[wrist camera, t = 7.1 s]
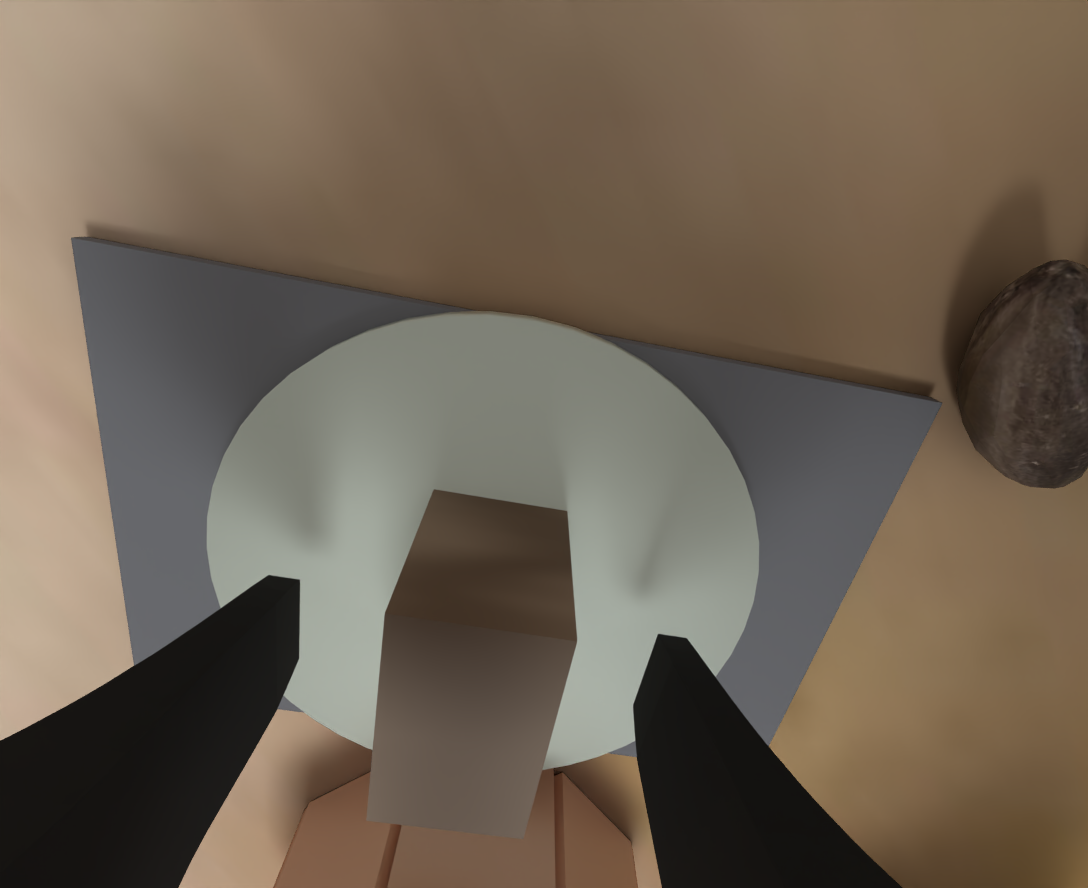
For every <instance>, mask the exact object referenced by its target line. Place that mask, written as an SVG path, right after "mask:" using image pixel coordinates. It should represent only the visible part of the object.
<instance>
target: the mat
mask: <svg viewBox="0 0 1088 888" xmlns="http://www.w3.org/2000/svg"><path fill="white" fill-rule="evenodd" d="M71 240H72V247H73V254H74V261H75V267H76V274H77V281H78V288H79V295H80V301H81V308H82V315H83V322H84V329H85V335H86V342H87V349H88V356H89V362H90V369H91V376H92V383H93V390H94V396H95V403H96V410H97V417H98V424H99V430H100V437H101V444H102V451H103V458H104V464H105V471H106V478H107V485H108V492H109V498H110V505H111V512H112V519H113V526H114V532H115V539H116V546H117V553H118V559H119V566H120V573H121V580H122V587H123V593H124V600H125V607H126V614H127V621H128V627H129V634H130V641H131V648H132V655H133V661H134V666H135V665H136V664H138V663H139V662H141V661H143V660H144V659H146V658H147V657H149V656H151V655H152V654H154V653H155V652H157V651H158V650H160V649H162V648H163V647H165V646H166V645H168V644H169V643H170V642H172V641H173V640H175V639H176V638H178V637H179V636H181V635H182V634H184V633H185V632H187V631H188V630H190V629H191V628H193V627H194V626H196V625H197V624H199V623H200V622H202V621H203V620H204V619H206V618H207V617H209V616H210V615H212V614H213V613H214V612H216V611H217V610H219V609H220V605H219V602H218V598H217V595H216V592H215V589H214V585H213V582H212V579H211V573H210V567H209V560H208V553H207V515H208V509H209V503H210V498H211V492H212V487H213V484H214V481H215V478H216V475H217V472H218V470H219V467H220V464H221V461H222V459H223V456H224V454H225V452H226V450H227V449H228V447H229V445H230V443H231V442H232V440H233V438H234V436H235V435H236V433H237V431H238V429H239V427H240V426H241V424H242V423H243V422H244V421H245V420H246V418H247V417H248V416H249V415H250V413H251V412H252V411H253V410H254V408H255V407H256V406H257V405H258V404H259V402H260V401H261V400H262V399H263V398H264V397H265V396H266V395H267V394H268V393H269V392H270V391H271V390H273V389H274V388H275V387H276V386H277V385H278V384H279V383H280V382H282V381H283V380H284V379H285V378H286V377H287V376H288V375H289V374H291V373H292V372H293V371H295V370H297V369H298V368H300V367H301V366H303V365H304V364H306V363H307V362H309V361H311V360H312V359H314V358H315V357H317V356H318V355H320V354H321V353H323V352H324V351H326V350H328V349H329V348H331V347H332V346H334V345H336V344H338V343H340V342H342V341H345V340H347V339H349V338H351V337H354V336H356V335H358V334H360V333H362V332H365V331H367V330H369V329H372V328H375V327H379V326H382V325H386V324H389V323H393V322H396V321H400V320H403V319H406V318H411V317H418V316H425V315H432V314H438V313H445V312H461V311H475V310H470V309H464V308H459V307H454V306H449V305H443V304H438V303H433V302H428V301H422V300H417V299H412V298H407V297H401V296H396V295H391V294H385V293H380V292H375V291H370V290H364V289H359V288H354V287H349V286H343V285H338V284H333V283H328V282H322V281H317V280H312V279H307V278H301V277H296V276H291V275H286V274H280V273H275V272H270V271H265V270H259V269H254V268H249V267H244V266H238V265H233V264H228V263H223V262H217V261H212V260H207V259H201V258H196V257H191V256H186V255H180V254H175V253H170V252H165V251H159V250H154V249H149V248H144V247H138V246H133V245H128V244H123V243H117V242H112V241H107V240H102V239H96V238H91V237H75V238H71ZM588 333H591V332H588ZM591 334H593V335H596V336H598V337H601V338H602V339H605V340H607V341H610V342H612V343H614V344H615V345H617V346H619V347H621V348H622V349H624V350H626V351H628V352H629V353H631V354H633V355H635V356H636V357H638V358H640V359H642V360H643V361H645V362H647V363H648V364H649V365H651V366H652V367H653V368H654V369H656V370H657V371H658V372H660V373H661V374H662V375H663V376H665V377H666V378H667V379H669V380H670V381H671V382H672V383H674V384H675V385H676V386H677V387H678V388H679V389H680V390H681V391H682V392H683V393H684V394H685V395H686V396H687V397H688V398H689V399H690V400H691V401H692V402H693V403H694V404H695V405H696V406H697V408H698V409H699V410H700V411H701V412H702V413H703V414H704V416H705V417H706V418H707V419H708V421H709V422H710V423H711V425H712V426H713V428H714V429H715V430H716V432H717V433H718V435H719V436H720V437H721V439H722V440H723V442H724V443H725V445H726V446H727V447H728V449H729V450H730V452H731V454H732V456H733V458H734V460H735V462H736V464H737V466H738V468H739V470H740V472H741V474H742V476H743V478H744V480H745V483H746V486H747V489H748V492H749V495H750V499H751V502H752V505H753V508H754V511H755V517H756V524H757V531H758V538H759V574H758V580H757V585H756V591H755V597H754V602H753V605H752V608H751V611H750V614H749V617H748V620H747V623H746V626H745V629H744V631H743V633H742V635H741V637H740V639H739V640H738V642H737V644H736V646H735V648H734V650H733V652H732V654H731V656H730V657H729V658H728V660H727V661H726V663H725V664H724V666H723V667H722V668H721V670H720V671H719V673H718V674H717V676H716V678H717V680H718V681H719V683H720V684H721V685H722V687H723V688H724V689H725V691H726V692H727V693H728V695H729V696H730V697H731V699H732V700H733V701H734V703H735V704H736V705H737V707H738V708H739V709H740V711H741V712H742V713H743V715H744V716H745V717H746V719H747V720H748V721H749V722H750V724H751V725H752V726H753V728H754V729H755V730H756V731H757V733H758V734H759V735H760V736H761V738H762V739H763V740H764V741H765V743H766V744H767V745H768V746H769V744H770V742H771V740H772V738H773V736H774V734H775V732H776V730H777V729H778V727H779V725H780V723H781V721H782V719H783V717H784V715H785V713H786V711H787V709H788V707H789V705H790V703H791V701H792V699H793V697H794V695H795V693H796V691H797V689H798V687H799V685H800V683H801V681H802V679H803V677H804V675H805V673H806V671H807V669H808V667H809V665H810V663H811V661H812V659H813V657H814V656H815V654H816V652H817V650H818V648H819V646H820V644H821V642H822V640H823V638H824V636H825V634H826V632H827V630H828V628H829V626H830V624H831V622H832V620H833V618H834V616H835V614H836V612H837V610H838V608H839V606H840V604H841V602H842V600H843V598H844V596H845V594H846V592H847V590H848V588H849V586H850V584H851V583H852V581H853V579H854V577H855V575H856V573H857V571H858V569H859V567H860V565H861V563H862V561H863V559H864V557H865V555H866V553H867V551H868V549H869V547H870V545H871V543H872V541H873V539H874V537H875V535H876V533H877V531H878V529H879V527H880V525H881V523H882V521H883V519H884V517H885V515H886V513H887V511H888V509H889V508H890V506H891V504H892V502H893V500H894V498H895V496H896V494H897V492H898V490H899V488H900V486H901V484H902V482H903V480H904V478H905V476H906V474H907V472H908V470H909V468H910V466H911V464H912V462H913V460H914V458H915V456H916V454H917V452H918V450H919V448H920V446H921V444H922V442H923V440H924V438H925V436H926V435H927V433H928V431H929V429H930V427H931V425H932V423H933V421H934V419H935V417H936V415H937V413H938V411H939V409H940V407H941V405H942V403H941V402H939V401H937V400H935V399H933V398H931V397H927V396H922V395H916V394H911V393H906V392H901V391H895V390H890V389H885V388H880V387H874V386H869V385H864V384H859V383H853V382H848V381H843V380H838V379H832V378H827V377H822V376H817V375H811V374H806V373H801V372H796V371H790V370H785V369H780V368H775V367H769V366H764V365H759V364H753V363H748V362H743V361H738V360H732V359H727V358H722V357H717V356H711V355H706V354H701V353H696V352H690V351H685V350H680V349H675V348H669V347H664V346H659V345H654V344H648V343H643V342H638V341H633V340H627V339H622V338H617V337H612V336H606V335H601V334H596V333H591ZM278 709H282V710H289V711H297V712H303V711H302V710H300V709H299V708H298V707H297V706H295V705H294V704H293V703H291V702H290V701H289V700H288V699H287V698H286V697H285V696H284V695H283V697H282V700H281V702H280V704H279V706H278ZM609 753H610V754H618V755H625V756H633V757H637V753H636V742H635V741H634V742H632V743H630V744H628V745H626V746H624V747H621V748H619V749H616V750H614V751H611V752H609Z"/></svg>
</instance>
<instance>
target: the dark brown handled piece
mask: <svg viewBox="0 0 1088 888" xmlns="http://www.w3.org/2000/svg"><path fill="white" fill-rule="evenodd" d="M956 391H957V396H958V401H959V406H960V412H961V417H962V422H963V424H964V426H965V428H966V431H967V433H968V435H969V437H970V439H971V441H972V443H973V445H974V447H975V449H976V450H977V451H978V452H979V453H980V454H981V455H982V456H983V457H984V458H985V459H986V460H987V461H989V462H990V463H991V464H992V465H993V466H994V467H995V468H996V469H997V470H998V471H1000V472H1001V473H1002V474H1003V475H1004V476H1006V477H1008V478H1010V479H1012V480H1014V481H1016V482H1018V483H1020V484H1023V485H1026V486H1029V487H1041V488H1059V487H1064V486H1066V485H1068V484H1069V483H1071V482H1073V481H1075V480H1077V479H1078V478H1080V477H1081V476H1082V475H1083V473H1084V472H1085V470H1086V469H1087V468H1088V269H1087V268H1086V267H1085V266H1084V265H1081V264H1078V263H1075V262H1072V261H1069V260H1058V261H1050V262H1047V263H1045V264H1043V265H1041V266H1039V267H1037V268H1034V269H1033V270H1031V271H1029V272H1028V273H1026V274H1025V275H1023V276H1022V277H1020V278H1019V279H1017V280H1016V281H1014V282H1013V283H1011V284H1010V285H1008V286H1007V287H1006V288H1005V289H1004V290H1003V291H1002V292H1001V293H1000V294H999V295H998V296H997V297H996V298H995V299H994V300H993V301H992V302H991V303H990V305H989V306H988V307H987V308H986V309H985V310H984V311H983V312H982V313H981V314H980V317H979V320H978V322H977V325H976V327H975V330H974V333H973V335H972V338H971V340H970V343H969V345H968V348H967V351H966V353H965V356H964V358H963V361H962V364H961V366H960V369H959V373H958V381H957V389H956Z"/></svg>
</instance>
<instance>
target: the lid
mask: <svg viewBox="0 0 1088 888" xmlns="http://www.w3.org/2000/svg"><path fill="white" fill-rule="evenodd" d="M207 553H208V560H209V567H210V573H211V579H212V582H213V585H214V589H215V592H216V595H217V598H218V602H219V605H220V608H222V607H223V606H224V605H226V604H227V603H229V602H230V601H231V600H233V599H234V598H236V597H237V596H239V595H240V594H241V593H243V592H244V591H246V590H247V589H248V588H250V587H251V586H253V585H254V584H256V583H257V582H259V581H260V580H262V579H263V578H265V577H266V576H268V575H273V576H279V577H286V578H293V579H299V580H300V637H299V660H298V663H297V665H296V667H295V670H294V672H293V674H292V677H291V679H290V682H289V684H288V686H287V689H286V691H285V693H284V696H285V697H286V698H287V699H288V700H289V701H290V702H291V703H293V704H294V705H295V706H297V707H298V708H299V709H300V710H302V711H303V712H304V713H306V714H307V715H308V716H310V717H311V718H312V719H314V720H315V721H317V722H319V723H320V724H322V725H324V726H325V727H327V728H329V729H330V730H332V731H334V732H335V733H337V734H339V735H340V736H343V737H345V738H347V739H349V740H351V741H353V742H355V743H357V744H359V745H361V746H364V747H366V748H368V749H371V750H372V761H371V773H370V784H369V795H368V806H367V818H366V821H373V822H381V823H390V824H398V825H407V826H415V827H424V828H432V829H440V830H449V831H457V832H466V833H474V834H483V835H491V836H500V837H508V838H517V839H524V835H525V831H526V828H527V824H528V820H529V817H530V813H531V809H532V806H533V802H534V798H535V795H536V791H537V787H538V784H539V780H540V776H541V773H542V770H546V769H551V768H556V767H562V766H567V765H571V764H575V763H578V762H582V761H585V760H589V759H592V758H596V757H599V756H601V755H604V754H606V753H609V752H611V751H614V750H616V749H619V748H621V747H624V746H626V745H628V744H630V743H632V742H634V741H635V730H634V715H633V704H634V701H635V698H636V695H637V692H638V689H639V687H640V684H641V681H642V678H643V675H644V672H645V669H646V667H647V664H648V661H649V658H650V655H651V652H652V649H653V647H654V644H655V641H656V638H657V635H658V634H664V635H670V636H677V637H683V638H687V639H688V640H689V642H690V643H691V644H692V645H693V647H694V648H695V650H696V651H697V652H698V654H699V655H700V656H701V658H702V659H703V661H704V662H705V663H706V665H707V666H708V667H709V669H710V670H711V672H712V673H713V674H714V676H715V677H716V676H717V674H718V673H719V671H720V670H721V668H722V667H723V666H724V664H725V663H726V661H727V660H728V658H729V657H730V656H731V654H732V652H733V650H734V648H735V646H736V644H737V642H738V640H739V639H740V637H741V635H742V633H743V631H744V629H745V626H746V623H747V620H748V617H749V614H750V611H751V608H752V605H753V602H754V597H755V591H756V585H757V580H758V574H759V538H758V531H757V524H756V517H755V511H754V508H753V505H752V502H751V499H750V495H749V492H748V489H747V486H746V483H745V480H744V478H743V476H742V474H741V472H740V470H739V468H738V466H737V464H736V462H735V460H734V458H733V456H732V454H731V452H730V450H729V449H728V447H727V446H726V445H725V443H724V442H723V440H722V439H721V437H720V436H719V435H718V433H717V432H716V430H715V429H714V428H713V426H712V425H711V423H710V422H709V421H708V419H707V418H706V417H705V416H704V414H703V413H702V412H701V411H700V410H699V409H698V408H697V406H696V405H695V404H694V403H693V402H692V401H691V400H690V399H689V398H688V397H687V396H686V395H685V394H684V393H683V392H682V391H681V390H680V389H679V388H678V387H677V386H676V385H675V384H674V383H672V382H671V381H670V380H669V379H667V378H666V377H665V376H663V375H662V374H661V373H660V372H658V371H657V370H656V369H654V368H653V367H652V366H651V365H649V364H648V363H647V362H645V361H643V360H642V359H640V358H638V357H636V356H635V355H633V354H631V353H629V352H628V351H626V350H624V349H622V348H621V347H619V346H617V345H615V344H614V343H612V342H610V341H607V340H605V339H602V338H601V337H598V336H596V335H593V334H591V333H588V332H586V331H583V330H581V329H579V328H576V327H574V326H570V325H566V324H562V323H558V322H554V321H550V320H546V319H543V318H539V317H535V316H528V315H520V314H512V313H503V312H495V311H461V312H445V313H438V314H432V315H425V316H418V317H411V318H406V319H403V320H400V321H396V322H393V323H389V324H386V325H382V326H379V327H375V328H372V329H369V330H367V331H365V332H362V333H360V334H358V335H356V336H354V337H351V338H349V339H347V340H345V341H342V342H340V343H338V344H336V345H334V346H332V347H331V348H329V349H328V350H326V351H324V352H323V353H321V354H320V355H318V356H317V357H315V358H314V359H312V360H311V361H309V362H307V363H306V364H304V365H303V366H301V367H300V368H298V369H297V370H295V371H293V372H292V373H291V374H289V375H288V376H287V377H286V378H285V379H284V380H283V381H282V382H280V383H279V384H278V385H277V386H276V387H275V388H274V389H273V390H271V391H270V392H269V393H268V394H267V395H266V396H265V397H264V398H263V399H262V400H261V401H260V402H259V404H258V405H257V406H256V407H255V408H254V410H253V411H252V412H251V413H250V415H249V416H248V417H247V418H246V420H245V421H244V422H243V423H242V424H241V426H240V427H239V429H238V431H237V433H236V435H235V436H234V438H233V440H232V442H231V443H230V445H229V447H228V449H227V450H226V452H225V454H224V456H223V459H222V461H221V464H220V467H219V470H218V472H217V475H216V478H215V481H214V484H213V487H212V492H211V498H210V503H209V509H208V515H207Z"/></svg>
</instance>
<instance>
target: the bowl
mask: <svg viewBox="0 0 1088 888" xmlns="http://www.w3.org/2000/svg"><path fill="white" fill-rule="evenodd" d="M370 773H371V772H369V773H367V774H365V775H363V776H361V777H359V778H357V779H355V780H353V781H351V782H349V783H347V784H345V785H343V786H341V787H339V788H337V789H335V790H333V791H331V792H329V793H327V794H325V795H323V796H321V797H319V798H317V799H315V800H313V801H311V802H309V804H308V807H307V808H305V810H304V812H303V815H302V817H301V820H300V822H299V825H298V827H297V830H296V832H295V835H294V837H293V840H292V842H291V845H290V847H289V850H288V852H287V855H286V857H285V860H284V862H283V865H282V867H281V870H280V872H279V875H278V877H277V879H276V882H275V884H274V887H273V888H638V886H637V878H636V871H635V864H634V856H633V849H632V846H631V841H630V840H629V839H628V838H627V837H626V836H625V835H624V834H623V833H622V832H621V831H620V830H619V829H618V828H617V827H616V826H615V825H614V824H613V823H612V822H611V821H610V820H609V819H608V818H607V817H606V816H605V815H604V814H603V813H602V812H601V811H600V810H599V809H598V808H597V807H596V806H595V805H594V804H593V803H592V802H591V801H590V800H589V799H588V798H587V797H586V796H585V795H584V794H583V793H582V792H581V791H580V790H579V789H578V788H577V787H576V786H575V785H574V784H573V783H572V782H571V781H570V780H569V779H568V778H567V777H566V775H565V774H564V773H563V772H562V773H560V774H558V775H556V776H554V768H551V769H546V770H542V773H541V776H540V780H539V784H538V787H537V791H536V795H535V798H534V802H533V806H532V809H531V813H530V817H529V820H528V824H527V828H526V831H525V835H524V839H517V838H508V837H500V836H491V835H483V834H474V833H466V832H457V831H449V830H440V829H432V828H424V827H415V826H407V825H398V824H390V823H381V822H373V821H366V818H367V806H368V795H369V784H370Z"/></svg>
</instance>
